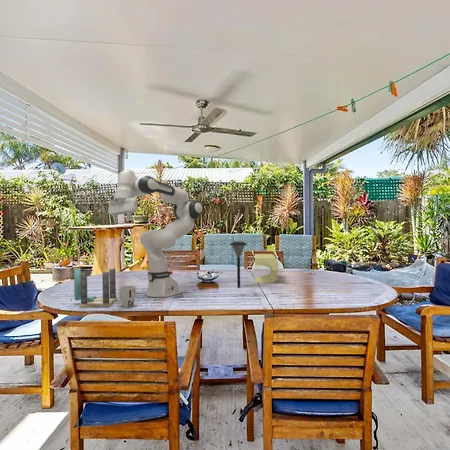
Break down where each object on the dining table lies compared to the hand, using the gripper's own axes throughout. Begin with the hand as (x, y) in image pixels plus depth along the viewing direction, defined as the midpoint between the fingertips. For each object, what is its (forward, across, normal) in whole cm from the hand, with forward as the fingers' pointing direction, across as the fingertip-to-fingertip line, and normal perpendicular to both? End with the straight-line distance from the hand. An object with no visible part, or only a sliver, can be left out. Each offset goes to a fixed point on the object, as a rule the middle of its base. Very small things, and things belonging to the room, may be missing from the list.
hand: (121, 221), depth 192 cm
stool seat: (+45, +10, 0) cm, 46 cm away
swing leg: (+43, +16, +6) cm, 46 cm away
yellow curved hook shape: (+24, -38, -105) cm, 115 cm away
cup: (+46, -7, -5) cm, 47 cm away
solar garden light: (+31, -33, -74) cm, 87 cm away
